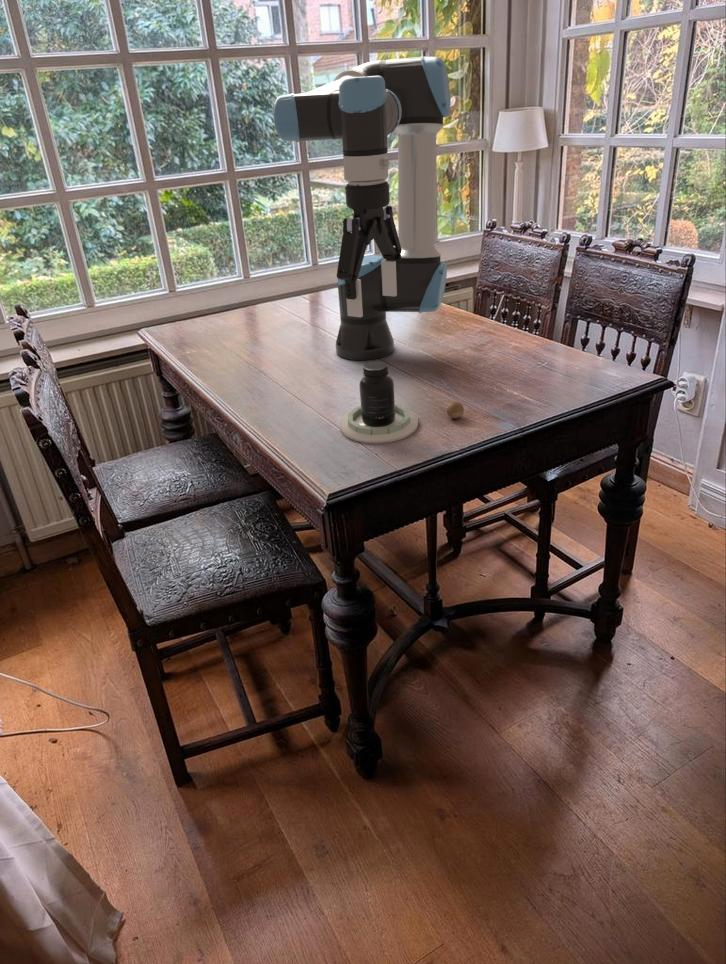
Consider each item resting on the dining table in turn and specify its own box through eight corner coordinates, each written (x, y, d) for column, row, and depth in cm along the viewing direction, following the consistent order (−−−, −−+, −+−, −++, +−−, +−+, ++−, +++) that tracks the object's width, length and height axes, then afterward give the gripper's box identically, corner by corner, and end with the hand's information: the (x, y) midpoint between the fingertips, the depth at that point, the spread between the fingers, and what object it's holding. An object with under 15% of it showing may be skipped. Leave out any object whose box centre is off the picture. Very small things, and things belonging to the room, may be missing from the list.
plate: (325, 434, 137) (324, 425, 135) (363, 404, 148) (362, 394, 147) (396, 449, 130) (396, 439, 128) (430, 415, 141) (430, 406, 140)
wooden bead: (443, 419, 139) (444, 404, 138) (450, 413, 142) (450, 397, 140) (459, 422, 138) (460, 406, 136) (466, 415, 140) (466, 400, 139)
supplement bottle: (360, 415, 141) (356, 360, 135) (393, 412, 142) (391, 357, 135) (363, 429, 135) (359, 373, 129) (397, 426, 136) (394, 370, 129)
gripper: (349, 193, 105) (358, 327, 116) (417, 171, 123) (419, 289, 134) (308, 193, 108) (320, 323, 119) (381, 171, 126) (385, 286, 137)
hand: (373, 305), depth 126 cm, fingers open, 13 cm apart
